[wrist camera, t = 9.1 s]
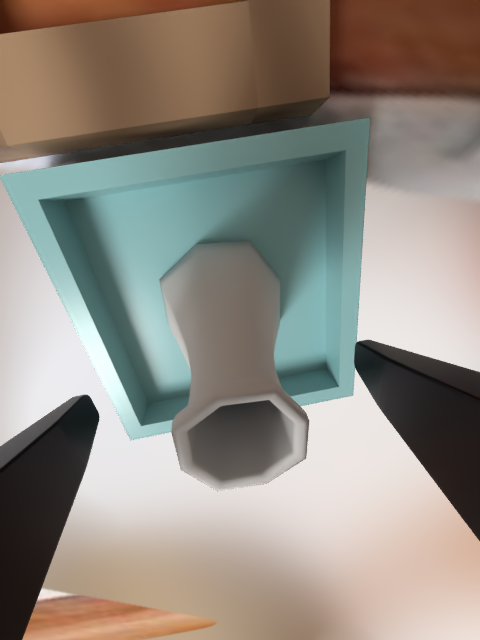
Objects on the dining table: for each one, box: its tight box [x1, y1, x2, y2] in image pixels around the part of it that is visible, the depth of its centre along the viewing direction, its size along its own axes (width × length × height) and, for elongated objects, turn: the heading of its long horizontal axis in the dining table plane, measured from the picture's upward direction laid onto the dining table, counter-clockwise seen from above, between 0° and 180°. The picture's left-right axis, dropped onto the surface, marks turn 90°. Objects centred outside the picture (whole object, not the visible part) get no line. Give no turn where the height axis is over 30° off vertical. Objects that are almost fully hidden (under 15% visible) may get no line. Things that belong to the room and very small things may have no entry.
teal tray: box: [0, 118, 370, 440], centre depth 14 cm, size 15×15×2 cm
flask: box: [159, 240, 309, 491], centre depth 10 cm, size 7×7×10 cm
